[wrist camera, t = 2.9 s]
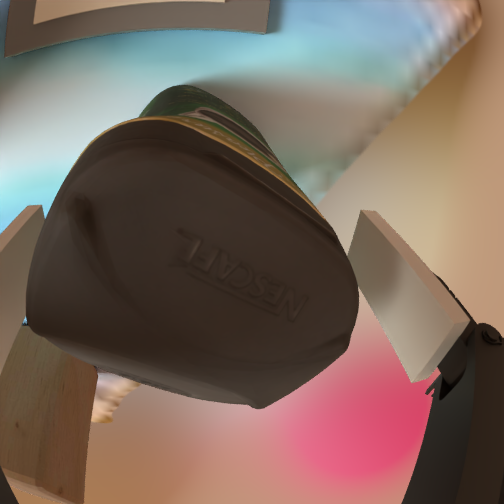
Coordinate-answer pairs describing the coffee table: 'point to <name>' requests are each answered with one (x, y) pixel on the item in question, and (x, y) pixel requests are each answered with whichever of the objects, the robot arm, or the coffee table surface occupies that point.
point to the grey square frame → (124, 19)
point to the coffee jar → (191, 259)
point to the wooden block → (45, 418)
